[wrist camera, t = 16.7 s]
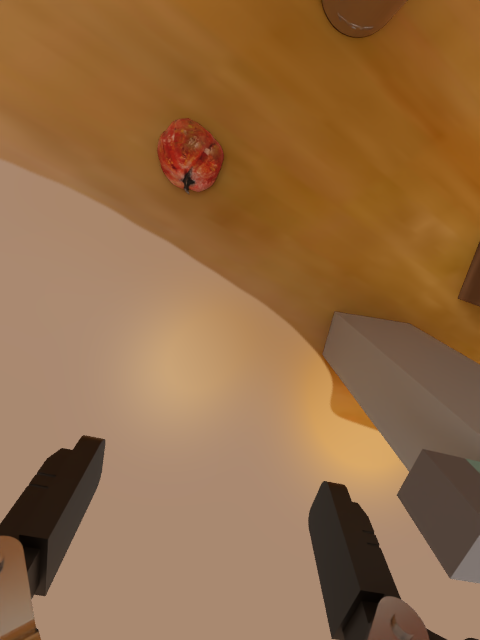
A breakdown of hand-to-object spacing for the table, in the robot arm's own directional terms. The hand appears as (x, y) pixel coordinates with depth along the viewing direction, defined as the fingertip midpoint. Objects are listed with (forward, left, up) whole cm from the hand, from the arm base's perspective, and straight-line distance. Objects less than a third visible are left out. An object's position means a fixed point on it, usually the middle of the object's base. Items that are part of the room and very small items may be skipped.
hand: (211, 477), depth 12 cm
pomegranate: (-14, -6, -36) cm, 39 cm away
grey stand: (+3, +25, -36) cm, 44 cm away
